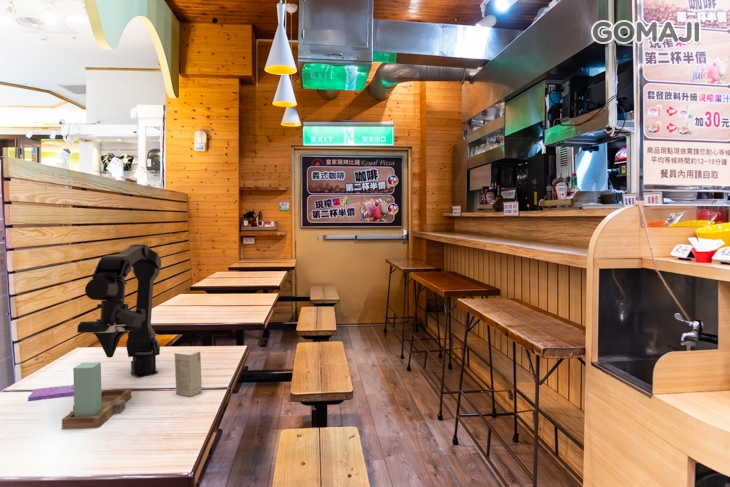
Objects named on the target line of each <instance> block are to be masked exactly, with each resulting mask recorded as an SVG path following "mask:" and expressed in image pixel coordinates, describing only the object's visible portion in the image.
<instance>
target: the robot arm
mask: <svg viewBox="0 0 730 487" xmlns="http://www.w3.org/2000/svg"><path fill="white" fill-rule="evenodd" d="M161 268H162V258H161V257H160V254H158V253H157V252H156V251H154V250H152V249H150V247H149V246H148V244H147V245H146V244H143V243H140V244H138V243H137V244H133V243H132V244H129V247H128V248H125V249H124V250H123V251H120V252H119V253H117V254H109V255H103V256H102V257H101V258H100V260H98V262H97V265H96V267H95V270H94V272H93V274H92V278H91V279H90V280H89V281H88V282H87V283H86V285H85V287H84V293H85V295H86V297H87V298H89V299H91V300H93V301H100V304H99V303H98V304H96V306H97V307H96V308H97V309H100V316H99V317H100V318H96V320H94V321H90V320H89V321H80V322H79V323H78V324H77V329H76V332H77V333H83V334H84V333H92V334H93V335H94V336H95V337H96V339H97V341H98V342H99V343H100V345H101V348H102V349H103V352H104V353H105V356H106V357H107V358H113V357H114V355H115V352H116V349H117V347H118V344H119V342H120V340H121V338H122V337H123V336H124V335H125V334H127V336H128V337H127V340H126V342H125V343H126V344H125V345H126V346H125V347H126V351H127V357H128V358H132V360H131V361H130V366H131V367H130V374H131V375H133V376H135V377H136V378H142V377H147V376H150V375H155V374H158V373H159V371H158V370H157V367H156V366H157V364H156V362H157V361H156V360H157V357H156V356H159V355H161V354H160V352H161V345H160V343H159V342H158V340H157V338H156V332H155V330H154V328H153V326H152V313H153V311H152V310H153V297H154V296H153V292H154V282H155V280H156V279H157V277H158V276H159V275H160V269H161ZM131 271H132V273H133V275H134V276H135V278H136V279H137V290H136V291H137V293H136V304H135V306H136V307H135V310H131V309H129V304H128V303H125V299H126V298H125V297H126V296H125V294H126V293H125V292H126V285H127V284H128V283H127V281H126V280H125V279H126V277H127V276H128V275H129V273H130V272H131ZM125 329H126V330H125ZM127 329H130V330H127Z"/></svg>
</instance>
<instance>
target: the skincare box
mask: <svg viewBox="0 0 730 487" xmlns="http://www.w3.org/2000/svg"><path fill="white" fill-rule="evenodd" d="M201 356H202V355H201V351H198V350H190V349H184V350H183V349H182V350H180V351H177V352H175V353H174V372H175V394H176V395H181V396H186V397H193V396H196V395H198V394H201V393H202V392H203V390H202V387H203V384H202V364H201V363H202V361H201V360H202V358H201Z"/></svg>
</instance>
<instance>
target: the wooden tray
mask: <svg viewBox="0 0 730 487" xmlns="http://www.w3.org/2000/svg"><path fill="white" fill-rule="evenodd" d="M132 397H133V396H132V389H131V388H129V389H127V388H123V389H122V388H121V389H101V401H102V410H101V412H100V413H99V414H98V415H96V416H85V417H74V405H73V406H72V407H73V410H71V411H70V412H69V413H68V414H67V415H65V416H64V417H63V418H61V430H73V429H75V430H76V429H98V428H100V427H101V426H103V425H104V424H105V422H108V421H109V419H110V418H111V417H113V415H115V414H122V413H123V412H124V411H125V410H126V403H127V402H128V401H129V400H131V398H132Z"/></svg>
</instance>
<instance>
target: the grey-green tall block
mask: <svg viewBox="0 0 730 487" xmlns="http://www.w3.org/2000/svg"><path fill="white" fill-rule="evenodd" d="M73 385H74V396H73V406H74V417H85V416H96V415H98V414H99V413H100V412H101V410H102V401H101V390H102V363H101V362H100V361H99V362H82V363H80V364H78V365H76V366H75V367H73Z"/></svg>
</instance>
